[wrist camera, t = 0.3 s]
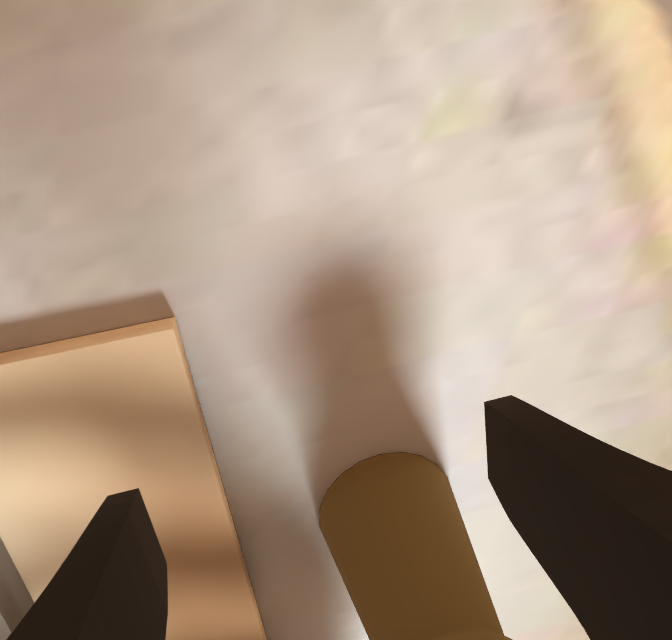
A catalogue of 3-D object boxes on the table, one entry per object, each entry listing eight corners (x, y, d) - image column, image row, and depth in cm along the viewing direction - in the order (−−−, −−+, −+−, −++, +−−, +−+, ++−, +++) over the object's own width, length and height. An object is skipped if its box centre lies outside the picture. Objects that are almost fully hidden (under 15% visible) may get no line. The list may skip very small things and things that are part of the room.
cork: (294, 544, 26) (349, 841, 16) (361, 434, 24) (466, 691, 15) (408, 573, 28) (517, 852, 18) (476, 475, 27) (636, 722, 17)
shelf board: (278, 680, 29) (286, 743, 27) (89, 735, 28) (77, 806, 26) (174, 316, 21) (170, 355, 18) (-103, 374, 20) (-150, 425, 17)
